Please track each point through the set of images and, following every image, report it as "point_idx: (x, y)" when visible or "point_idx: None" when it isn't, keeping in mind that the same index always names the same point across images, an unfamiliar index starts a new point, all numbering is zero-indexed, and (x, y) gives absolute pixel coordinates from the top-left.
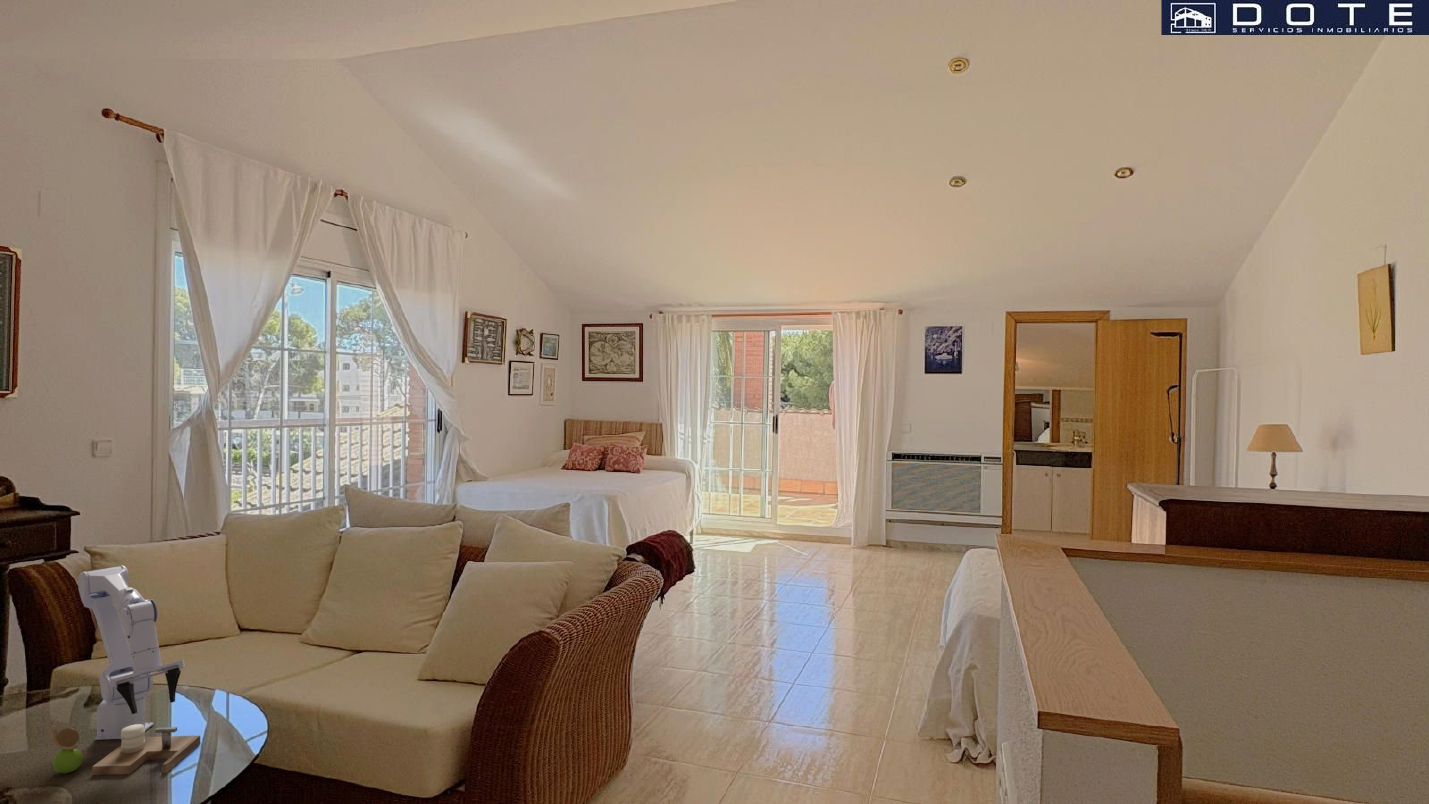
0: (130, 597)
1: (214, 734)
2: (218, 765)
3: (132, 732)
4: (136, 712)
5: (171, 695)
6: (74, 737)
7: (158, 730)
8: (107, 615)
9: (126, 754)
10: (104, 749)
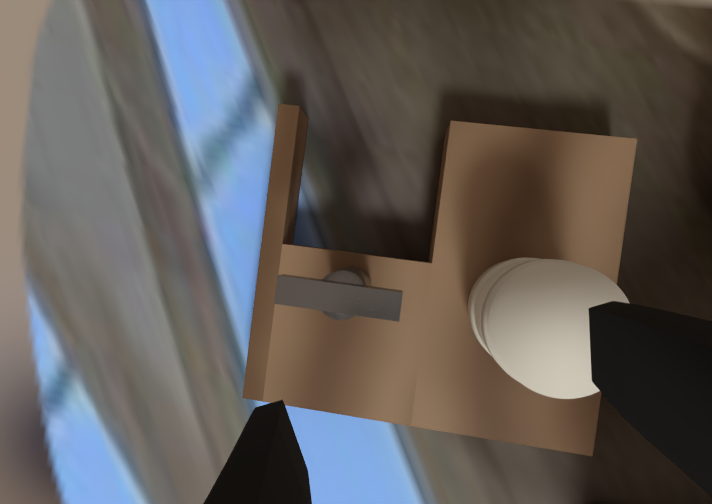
0: None
1: None
2: (106, 151)
3: (537, 266)
4: (593, 354)
5: (246, 453)
6: None
7: (382, 290)
8: None
9: (523, 247)
10: None
